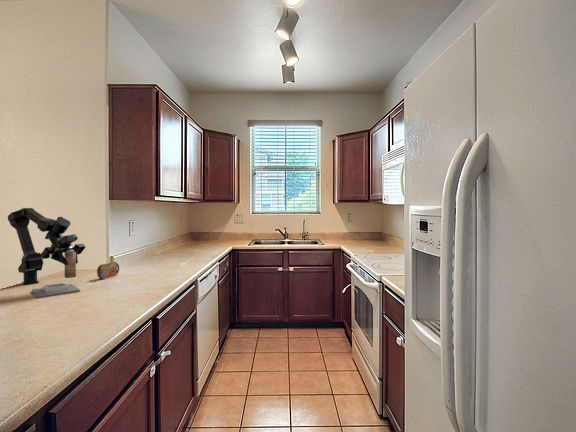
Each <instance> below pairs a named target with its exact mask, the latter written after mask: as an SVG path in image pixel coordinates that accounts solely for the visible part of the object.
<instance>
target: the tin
mask: <svg viewBox="0 0 576 432" xmlns="http://www.w3.org/2000/svg"><path fill="white" fill-rule="evenodd" d="M119 272H120V265H119V263H118V262H117V261H110V262H107V263H103V264H99V266H98V267H97V269H96V275H97V277H98V278H99V279H101V280H103V279H104V280H106V279H110V278H113V277H116V276H117V275H118V274H119Z"/></svg>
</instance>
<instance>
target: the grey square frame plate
mask: <svg viewBox="0 0 576 432" xmlns="http://www.w3.org/2000/svg"><path fill="white" fill-rule="evenodd" d="M31 291H32V293H33V294H34V295H35V297H36V298H37V299H40V298H47V297H54V296H55V297H56V296H61V295H66V294H74V293H79V292H81V290H80V288H78V287H77V286H75V285H74V284H72V283H68V284H67V283H66V282H65V281H64V282H58V283H50V284H44V285H42V287H40V288H39V287H38V288H32V289H31Z"/></svg>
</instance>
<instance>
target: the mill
mask: <svg viewBox="0 0 576 432" xmlns="http://www.w3.org/2000/svg"><path fill="white" fill-rule="evenodd" d="M64 258H65V259H66V261H67V263H68V264H67V265H64V278H66V279H72V278H73V279H74V278H76V277H77V264H76V252H74V250H67V252H66V253H64Z"/></svg>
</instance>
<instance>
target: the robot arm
mask: <svg viewBox="0 0 576 432" xmlns="http://www.w3.org/2000/svg"><path fill="white" fill-rule="evenodd" d="M7 221H8V222H9V225H10V226H11V227H12V228H14V229H15V231H16V233H17V237H18V240H19V244H20V247H21V250H22V254H23V255H22V257H21V260H20V261H21V264H20V265H19V266H18V268H17V271H18V273H22V274H23V275H22V276H23V281H21V284H22V285H32V284H39V283H40V281H39V280H38V271H39V272H40V271H42V270H43V266H44V259H45V260H46V259H51V260H54V261H57V262H59V263H60V264H62V265H64V266H65V265H67V264H68V263H67V261H66V259H65V255H63V254H65V253H66V252H67V250H74V252H76V265H77V264H78V262H79V260H78V255H80V254H82V253H83V251H84V250H85V249H86V245H85V244H84V243H75V242H76V241H78V236H77V234H76V233H73V234H72V233H71V234H69V235H67V234H66V235H64V236H63V234H65V233H66V231H67V230H68V229H69V227H70V226H71V223H72V222H71V221H70V220H68V219H67V218H64V217H63V216H58V217H57V219H54V218H49V217H46V216H44V215H42V214H41V213H39V212H38V211H36V210H35V209H34V208H33V207H22V208H20V209H18V210H15V211H13V212H10V214H9V215H8V216H7ZM30 221H32V222H33V223H34V224H35V225H36V227H37V229H38V230H39V231H40V232H42V233H43V232H47V233H46V234H45V237H44V240H49V242H50V243H51V245H50V246H47V247H44V249H43V250H42V252H41V253H40V252H37V251H36V250H35V247H34V244H33V241H32V237H31V233H30V231H29V225H30V223H31V222H30ZM72 243H75V244H74V246H73V244H72ZM72 246H73V247H72Z"/></svg>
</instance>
